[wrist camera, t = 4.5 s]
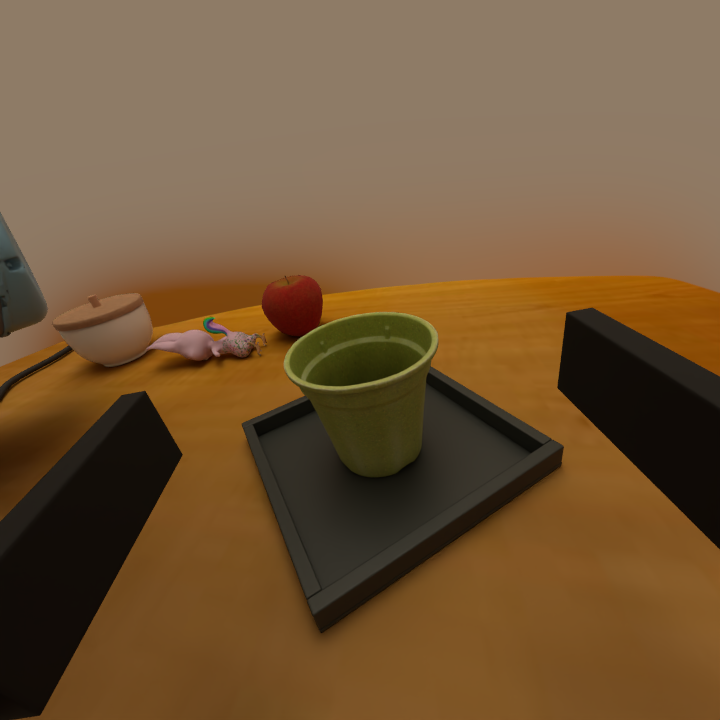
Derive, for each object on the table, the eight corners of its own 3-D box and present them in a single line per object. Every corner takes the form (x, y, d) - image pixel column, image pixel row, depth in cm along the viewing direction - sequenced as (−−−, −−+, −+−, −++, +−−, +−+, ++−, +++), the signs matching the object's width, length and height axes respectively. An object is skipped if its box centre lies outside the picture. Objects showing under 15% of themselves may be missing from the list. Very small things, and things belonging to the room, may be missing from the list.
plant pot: (449, 504, 20) (440, 382, 16) (300, 499, 23) (258, 391, 18) (443, 404, 28) (436, 305, 24) (333, 408, 30) (309, 318, 26)
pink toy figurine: (272, 348, 47) (166, 347, 48) (265, 307, 44) (152, 306, 45) (258, 372, 42) (139, 370, 43) (250, 327, 39) (122, 326, 40)
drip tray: (247, 438, 29) (241, 423, 29) (407, 365, 35) (406, 351, 34) (320, 633, 16) (312, 615, 15) (561, 465, 22) (564, 445, 21)
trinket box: (138, 337, 57) (108, 282, 53) (179, 340, 53) (150, 281, 48) (70, 371, 50) (28, 311, 45) (111, 380, 45) (68, 313, 40)
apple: (264, 346, 45) (243, 289, 41) (287, 321, 52) (272, 269, 48) (318, 343, 43) (303, 283, 39) (336, 317, 50) (324, 263, 46)
